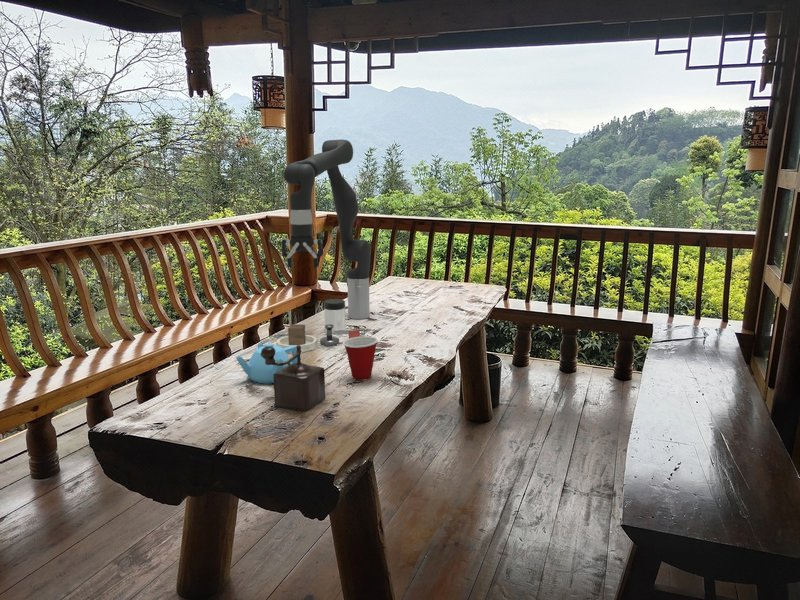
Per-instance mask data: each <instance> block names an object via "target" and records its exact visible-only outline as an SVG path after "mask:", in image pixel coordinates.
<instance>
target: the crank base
mask: <svg viewBox="0 0 800 600" xmlns="http://www.w3.org/2000/svg"><path fill="white" fill-rule="evenodd" d="M325 328H326V329H327V333H326V337H321V338H320V339H319V344H321V346H322V345H324V346H323V347H334V346H333V345H335V346H338V345H339V344H340V338H339V337H336V336H333V333H332V328H334V325H331V324H328V325H325V324H324V329H325ZM337 344H338V345H337Z"/></svg>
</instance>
